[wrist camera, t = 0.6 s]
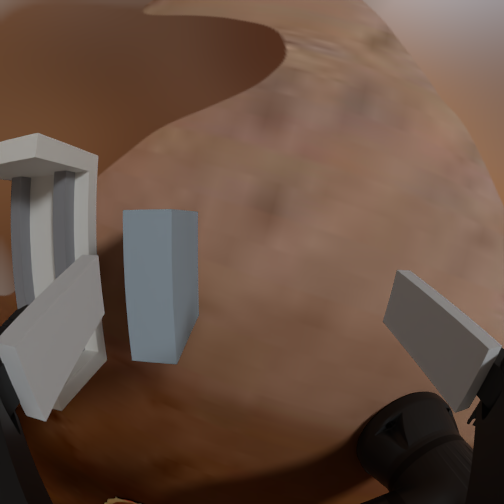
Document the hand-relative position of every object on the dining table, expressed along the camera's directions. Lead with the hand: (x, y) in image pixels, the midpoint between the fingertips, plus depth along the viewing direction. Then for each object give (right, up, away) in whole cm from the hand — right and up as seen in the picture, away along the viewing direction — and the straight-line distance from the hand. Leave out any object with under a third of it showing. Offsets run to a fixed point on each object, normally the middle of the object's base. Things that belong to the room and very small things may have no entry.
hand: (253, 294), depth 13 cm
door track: (-23, +1, +19) cm, 30 cm away
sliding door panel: (-7, 0, +20) cm, 21 cm away
